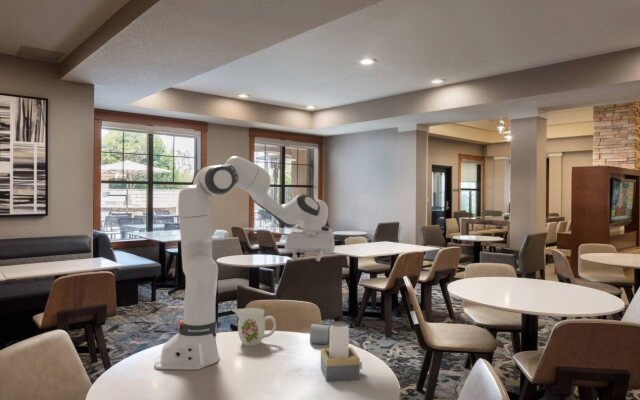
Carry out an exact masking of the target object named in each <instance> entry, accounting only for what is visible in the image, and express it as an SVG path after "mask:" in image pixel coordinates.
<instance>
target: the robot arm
mask: <svg viewBox="0 0 640 400" xmlns="http://www.w3.org/2000/svg"><path fill="white" fill-rule="evenodd" d="M234 186H236V187H238V188H240V189H241V190H243V191H245V192H246V193H247V194H249V197H250V199H251V200H252V201H253V202H254V203H255V204H256V205H257V206H258V207H260V208H261V209H263V210H264V211H266V212H267V213H268V214H269V215H271V217H273V218H274V219H276V221H278V222H279V224H281V225H282V226H283V227H286V228H293V227H296V226H297V225H298V224H299V223H300V222H301V221H303V222H304V225H303V228H302V231H301V232H300V231H292V232H291V233H288V235H287V239H286V240H285V243H284V249H285V250H286V252H287V253H292V261H298V254H297V253H307V254H308V253H309V254H316V255H315V262H320V261H321V258H323V257H324V256H325V254H331V255H332V254H333V253H334V251H335V245H336V244H335V235H334V231H333V229H332V228H331V227H328V226H326V225H327V222H328V218H329V217H328V216H329V208H328V204H327V203H326V202H325V201H324V200H321V199H315V198H313V197H312V196H310V195H309V194H306V193H299V194H298V195H296V196H295V197H293V198H292V199H291V200H290V201H288V202H286V203H283V204H282V203H279V201H276V200H275V198H273V197H271V196H270V195H269V194H268V192H269V190H270V188H271V187H270V186H271V176H270V174H269V173H268V171H267V170H266V169H264V168H263V167H261V166H259V165H258V164H256V163H254V162H252V161H250V160H248V159H246V158H244V157H241V156H238V155H233V156H231V157H229V158H228V159H227V160H226V161H225V163H224V164H217V165H207V166H205V167H201V168H200V169H198V170H197V171H196V172H195V174H194V175H193V178H192V180H191V182H190V185H187V186H185V187H183V188H182V189H181V190H179V193H178V202H177V205H178V206H177V207H178V208H177V212H178V213H177V214H178V222H179V231H180V245H181V246H180V248H181V250H180V251H181V265H182V272H183V274H184V276H185V289H184V290H185V291H184V298H183V320H179V322H177V323H178V324H177V325H178V326H177V333H176V334H175V335H173V336H172V337H171V338H170V339H168V340H167V341H166V342H165V343H164V345H163V346H162V350H161V352H160V353H161V354H159V355H158V356H157V357H156V359H154V368H155V369H156V370H180V371H181V370H185V371H187V370H188V371H189V370H190V371H191V370H192V371H193V370H195V371H196V370H201V369H204V368H205V367H208V366H211V365H214V364H215V363H217V362H218V361H219V360H220V359H221V358H220V355H219V351H218V345H217V338H216V337H217V331H218V326H217V320H216V296H217V288H218V277H219V267H218V264H217V262H216V261H215V259H214V258H213V231H212V229H213V228H212V220H211V210H210V209H211V208H210V202H211V198H212V196H220V195H221V196H222V195H225V194H226V193H228V192H230V191H231V190H232V188H233V187H234Z"/></svg>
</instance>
